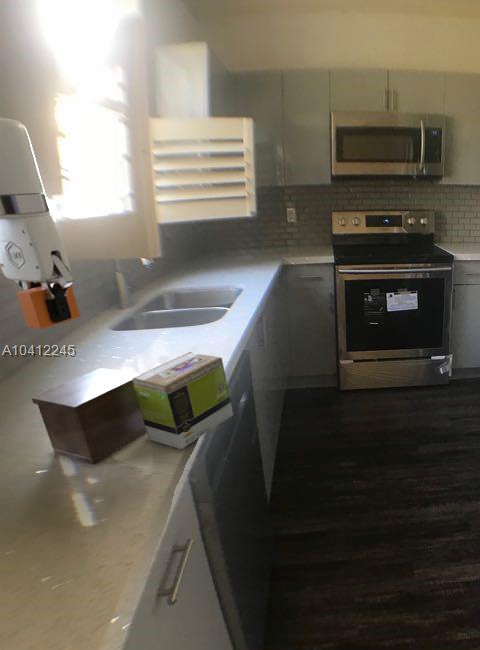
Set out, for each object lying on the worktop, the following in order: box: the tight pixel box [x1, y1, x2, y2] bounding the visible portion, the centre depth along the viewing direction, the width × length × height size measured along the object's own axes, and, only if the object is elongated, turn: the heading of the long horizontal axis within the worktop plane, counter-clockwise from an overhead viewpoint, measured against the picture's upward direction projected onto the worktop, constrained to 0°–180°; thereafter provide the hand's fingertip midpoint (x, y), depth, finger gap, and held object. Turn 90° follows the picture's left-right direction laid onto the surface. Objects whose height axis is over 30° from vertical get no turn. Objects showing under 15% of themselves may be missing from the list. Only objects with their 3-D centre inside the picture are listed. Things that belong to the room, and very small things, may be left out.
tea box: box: [132, 351, 234, 450], centre depth 97 cm, size 15×10×15 cm
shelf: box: [31, 367, 147, 465], centre depth 93 cm, size 12×15×13 cm
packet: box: [15, 282, 81, 330], centre depth 77 cm, size 3×7×6 cm, turn 160°
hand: (53, 318), depth 78 cm, fingers closed on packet, 3 cm apart
